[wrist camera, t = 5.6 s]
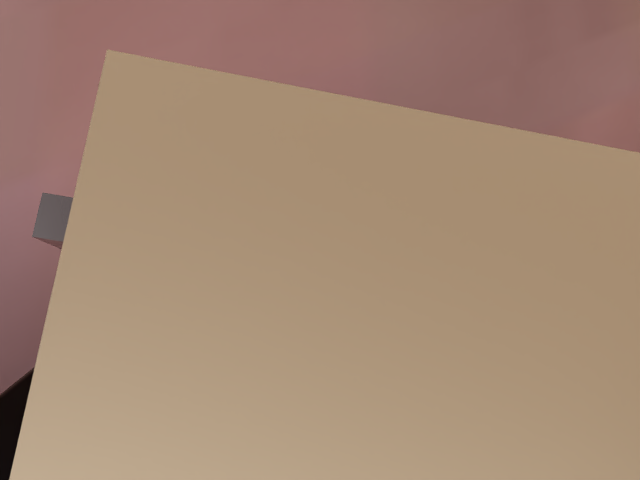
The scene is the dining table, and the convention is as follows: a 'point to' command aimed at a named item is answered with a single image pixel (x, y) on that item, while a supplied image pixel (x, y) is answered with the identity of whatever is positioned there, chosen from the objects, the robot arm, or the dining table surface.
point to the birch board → (334, 293)
